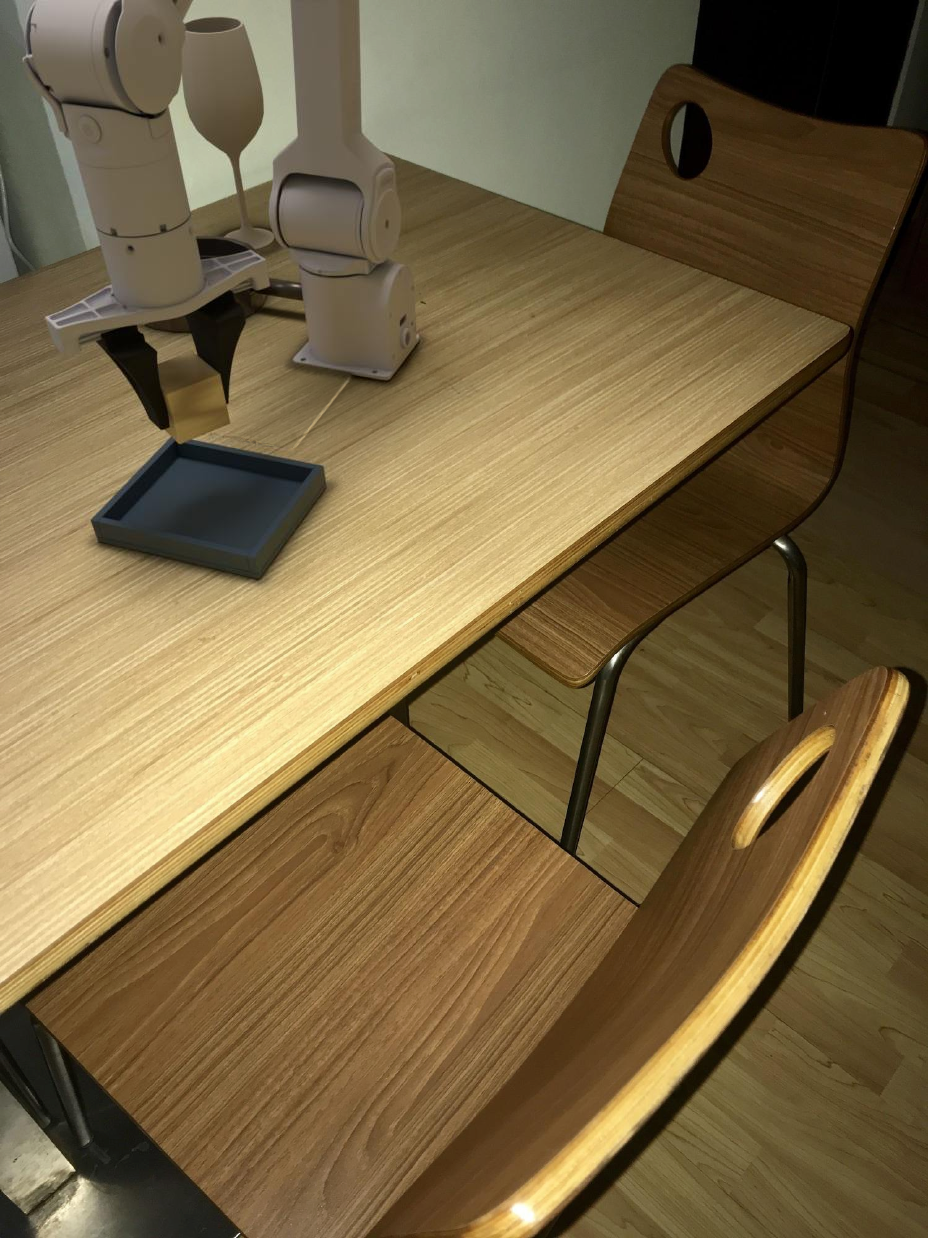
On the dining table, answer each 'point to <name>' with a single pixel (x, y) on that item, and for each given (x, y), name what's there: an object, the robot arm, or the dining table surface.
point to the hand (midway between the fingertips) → (189, 410)
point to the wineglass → (224, 98)
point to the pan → (245, 298)
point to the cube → (192, 397)
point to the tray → (211, 506)
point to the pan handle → (283, 289)
